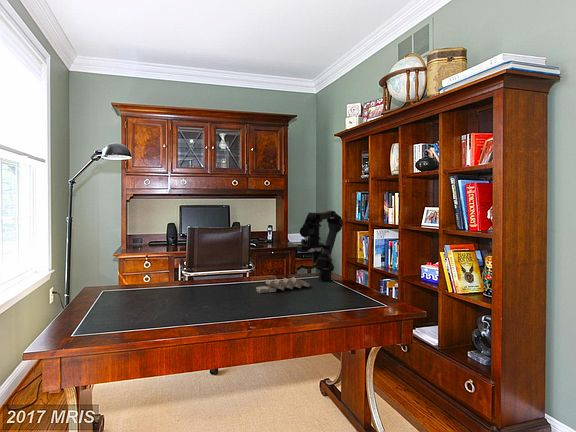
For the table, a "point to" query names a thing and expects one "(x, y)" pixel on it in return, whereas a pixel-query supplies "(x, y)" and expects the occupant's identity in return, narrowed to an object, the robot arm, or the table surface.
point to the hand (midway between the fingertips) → (314, 263)
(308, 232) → the robot arm
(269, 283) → the domino
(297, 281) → the domino
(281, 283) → the domino
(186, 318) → the table surface
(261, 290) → the domino
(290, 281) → the domino
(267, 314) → the table surface
